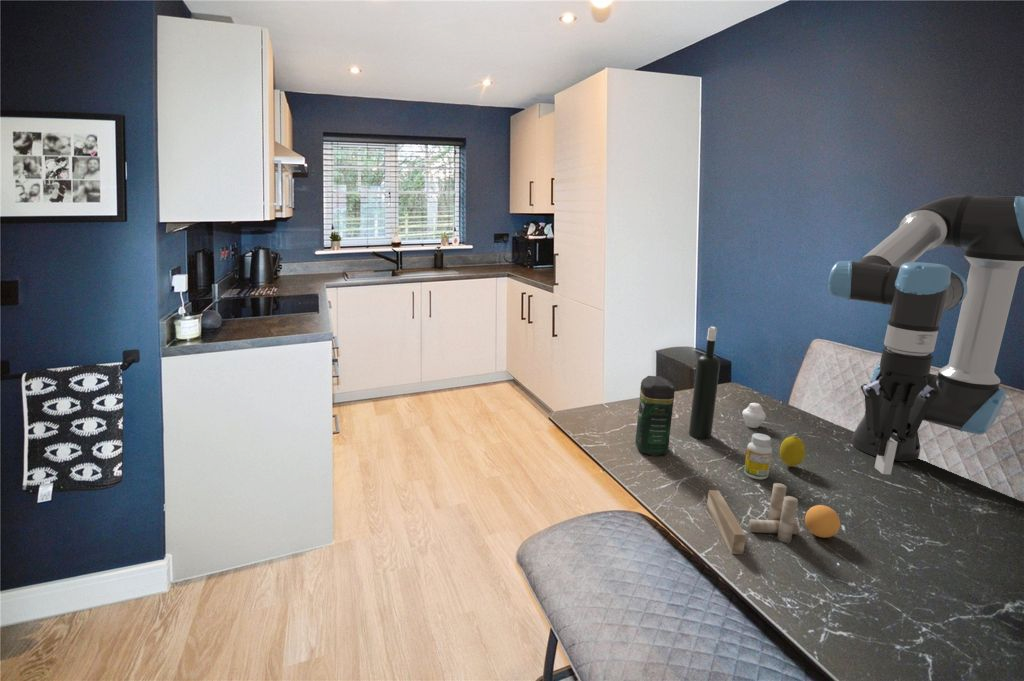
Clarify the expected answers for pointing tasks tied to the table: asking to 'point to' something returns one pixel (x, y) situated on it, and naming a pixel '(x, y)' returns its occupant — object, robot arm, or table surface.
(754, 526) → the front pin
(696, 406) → the wine bottle
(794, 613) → the table surface
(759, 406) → the white tapered rounded part
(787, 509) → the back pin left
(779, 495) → the back pin right
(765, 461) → the supplement bottle
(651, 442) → the coffee jar
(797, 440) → the lemon
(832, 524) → the ball
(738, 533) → the back wall
